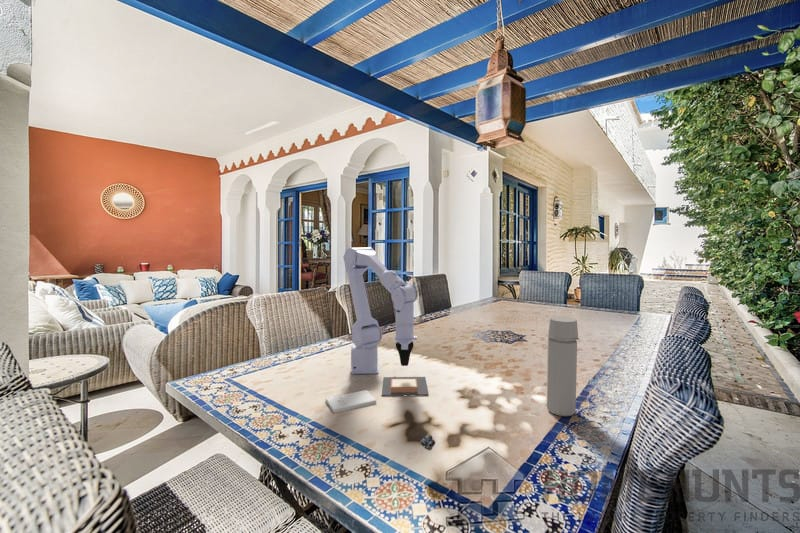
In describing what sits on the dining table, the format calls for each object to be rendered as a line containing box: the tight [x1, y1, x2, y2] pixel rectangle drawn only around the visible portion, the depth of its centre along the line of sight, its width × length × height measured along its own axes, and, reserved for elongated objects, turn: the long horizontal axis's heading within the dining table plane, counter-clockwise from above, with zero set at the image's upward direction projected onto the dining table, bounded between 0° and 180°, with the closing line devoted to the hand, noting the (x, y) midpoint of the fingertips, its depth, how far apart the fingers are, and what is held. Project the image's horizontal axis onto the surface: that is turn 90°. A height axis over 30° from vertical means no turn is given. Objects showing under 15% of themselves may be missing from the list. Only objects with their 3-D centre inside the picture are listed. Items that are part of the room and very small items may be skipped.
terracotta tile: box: [391, 379, 417, 393], centre depth 112 cm, size 8×2×6 cm
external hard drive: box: [325, 389, 377, 414], centre depth 103 cm, size 2×8×12 cm
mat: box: [381, 376, 429, 397], centre depth 114 cm, size 14×14×1 cm
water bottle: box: [545, 316, 580, 417], centre depth 96 cm, size 9×8×25 cm
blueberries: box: [419, 434, 436, 451], centre depth 82 cm, size 7×8×2 cm
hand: (404, 365), depth 115 cm, fingers closed
